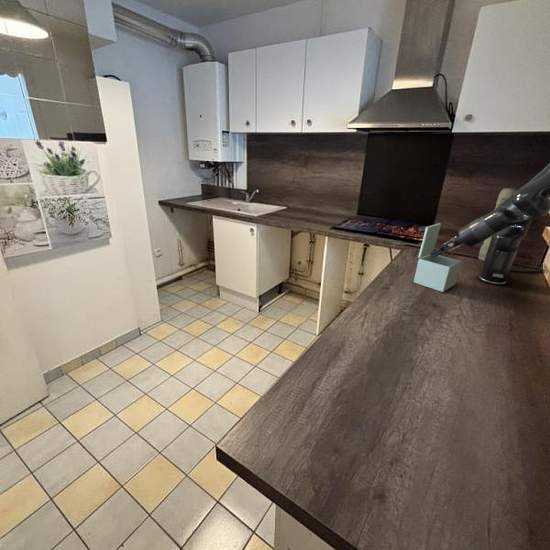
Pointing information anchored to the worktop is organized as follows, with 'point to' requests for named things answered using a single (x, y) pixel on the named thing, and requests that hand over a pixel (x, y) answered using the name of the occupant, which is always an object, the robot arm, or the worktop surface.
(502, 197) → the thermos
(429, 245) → the lid
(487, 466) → the worktop surface
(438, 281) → the light blue lidded box
